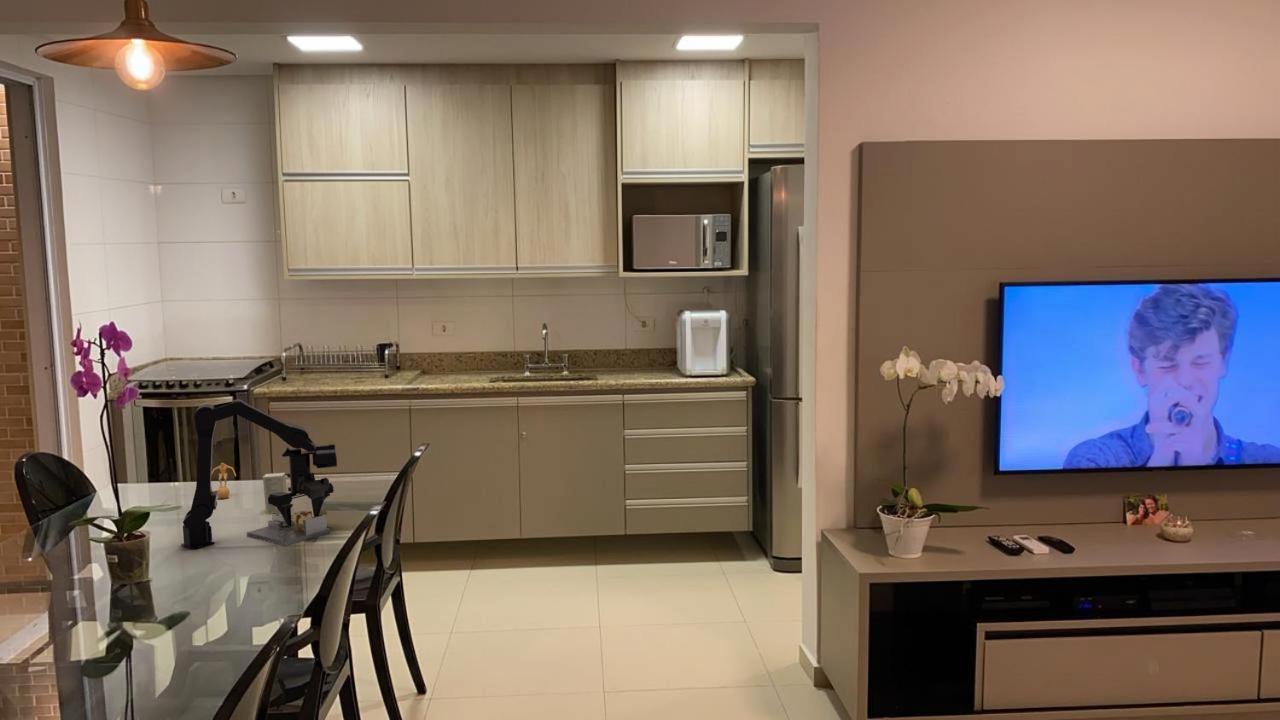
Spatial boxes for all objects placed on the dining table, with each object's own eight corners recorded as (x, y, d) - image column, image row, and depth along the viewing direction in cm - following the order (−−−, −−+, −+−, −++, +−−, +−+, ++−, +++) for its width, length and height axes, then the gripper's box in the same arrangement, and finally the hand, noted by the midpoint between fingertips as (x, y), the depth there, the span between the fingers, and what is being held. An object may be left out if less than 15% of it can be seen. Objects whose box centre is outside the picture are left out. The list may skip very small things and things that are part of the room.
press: (285, 545, 262) (284, 526, 262) (247, 536, 272) (245, 517, 272) (329, 532, 275) (328, 513, 274) (291, 523, 285) (290, 505, 284)
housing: (301, 532, 271) (300, 514, 270) (290, 530, 273) (289, 512, 273) (316, 528, 275) (315, 510, 274) (305, 526, 278) (304, 508, 277)
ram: (287, 527, 275) (285, 499, 274) (272, 524, 279) (270, 496, 278) (298, 524, 279) (297, 496, 278) (284, 520, 282) (282, 493, 282)
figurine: (209, 500, 315) (206, 465, 313) (212, 496, 320) (210, 462, 319) (235, 498, 317) (233, 464, 315) (238, 494, 322) (236, 460, 321)
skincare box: (288, 509, 302) (286, 472, 301) (285, 512, 298) (283, 475, 296) (268, 510, 301) (265, 473, 300) (264, 514, 296) (262, 476, 295)
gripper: (289, 479, 260) (293, 534, 262) (344, 466, 276) (347, 518, 277) (265, 475, 266) (268, 528, 268) (320, 462, 282) (323, 513, 283)
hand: (303, 522), depth 274 cm, fingers open, 9 cm apart
